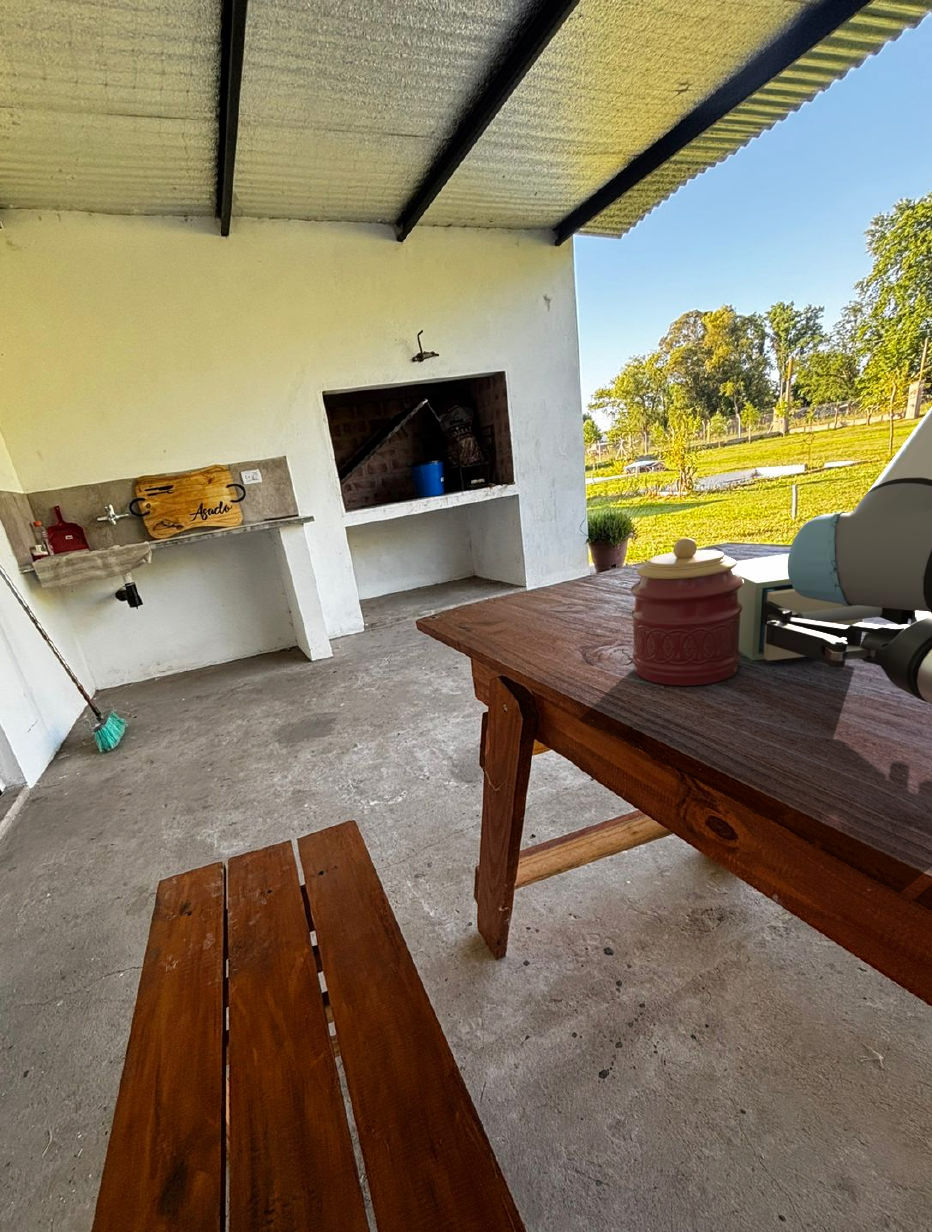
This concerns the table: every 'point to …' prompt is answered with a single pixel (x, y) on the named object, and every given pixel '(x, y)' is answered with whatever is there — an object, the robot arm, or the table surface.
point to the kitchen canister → (687, 617)
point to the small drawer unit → (757, 597)
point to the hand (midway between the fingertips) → (815, 605)
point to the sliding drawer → (809, 615)
